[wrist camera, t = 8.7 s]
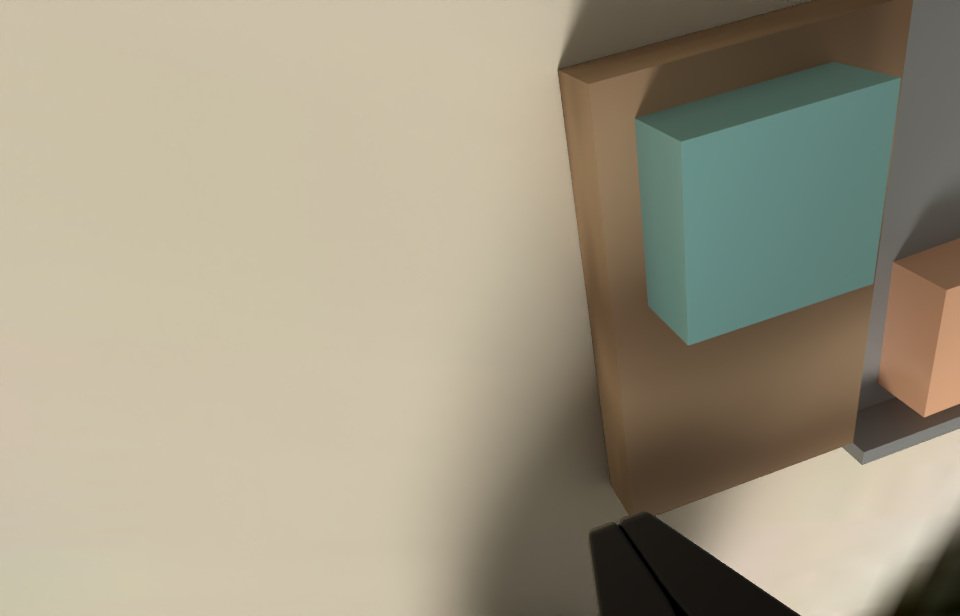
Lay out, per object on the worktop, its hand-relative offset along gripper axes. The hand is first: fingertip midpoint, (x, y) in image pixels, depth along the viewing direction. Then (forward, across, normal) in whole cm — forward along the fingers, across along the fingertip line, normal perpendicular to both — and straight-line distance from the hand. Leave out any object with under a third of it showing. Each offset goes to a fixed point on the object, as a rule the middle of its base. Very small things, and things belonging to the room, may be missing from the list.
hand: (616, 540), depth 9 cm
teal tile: (+8, -7, 0) cm, 11 cm away
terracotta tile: (+10, -16, +7) cm, 20 cm away
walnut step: (+10, -8, +3) cm, 13 cm away
